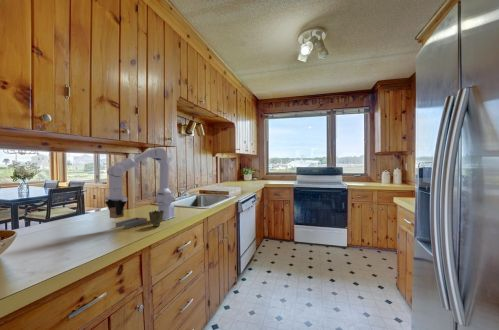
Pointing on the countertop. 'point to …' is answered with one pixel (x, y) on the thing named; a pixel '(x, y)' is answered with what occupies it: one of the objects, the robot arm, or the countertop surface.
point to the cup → (156, 217)
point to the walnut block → (115, 213)
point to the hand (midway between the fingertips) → (116, 214)
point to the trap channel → (132, 222)
